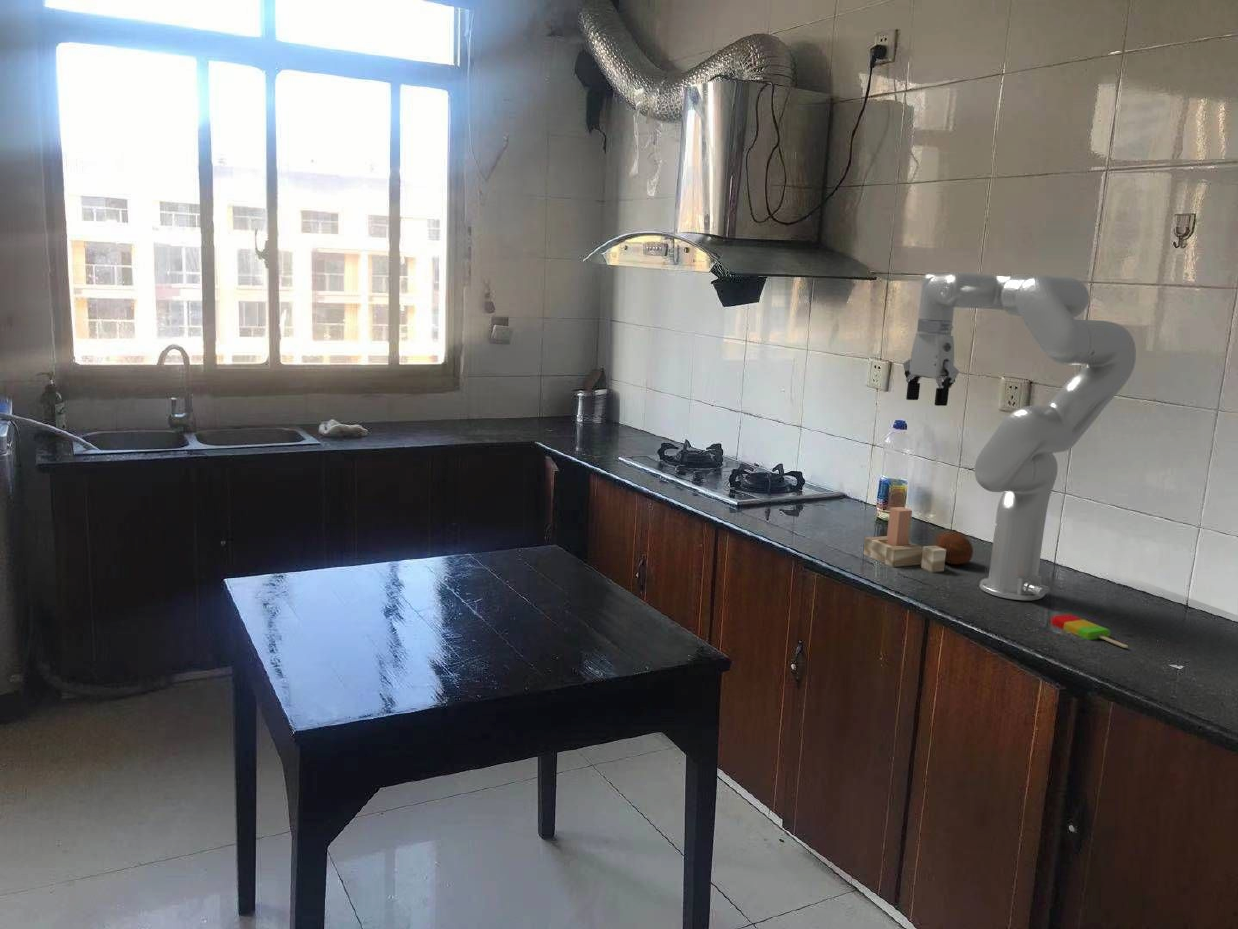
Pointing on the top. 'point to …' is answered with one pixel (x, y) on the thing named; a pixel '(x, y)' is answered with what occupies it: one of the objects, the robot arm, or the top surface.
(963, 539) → the brown oval lump
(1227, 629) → the top surface
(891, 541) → the long peg
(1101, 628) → the popsicle
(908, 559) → the slot block
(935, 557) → the short peg
